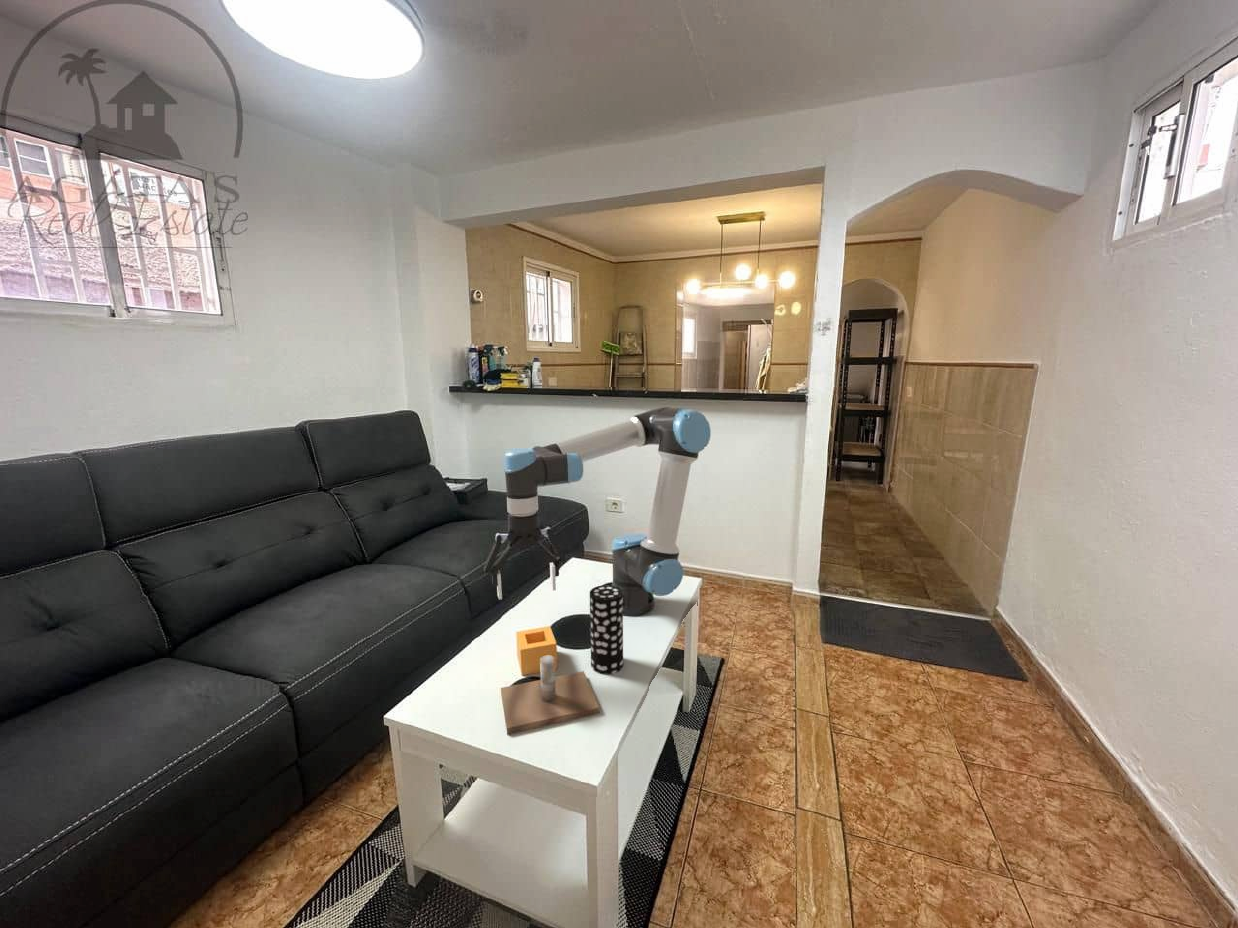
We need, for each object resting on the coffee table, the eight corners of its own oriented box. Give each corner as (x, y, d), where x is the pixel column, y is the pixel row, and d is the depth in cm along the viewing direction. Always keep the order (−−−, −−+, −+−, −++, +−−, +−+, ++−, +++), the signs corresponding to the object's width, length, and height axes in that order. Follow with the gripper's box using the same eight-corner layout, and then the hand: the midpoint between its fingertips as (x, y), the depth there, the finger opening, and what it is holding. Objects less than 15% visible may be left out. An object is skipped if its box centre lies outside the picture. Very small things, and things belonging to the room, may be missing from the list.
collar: (550, 649, 133) (549, 626, 132) (557, 668, 124) (556, 643, 123) (517, 655, 130) (516, 631, 129) (521, 675, 122) (520, 649, 120)
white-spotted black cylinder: (599, 677, 120) (598, 602, 117) (585, 660, 128) (584, 589, 124) (628, 668, 124) (628, 595, 121) (614, 652, 131) (613, 582, 128)
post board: (583, 676, 121) (582, 635, 119) (599, 713, 108) (598, 668, 106) (501, 693, 115) (498, 650, 113) (507, 734, 102) (504, 687, 100)
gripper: (568, 503, 128) (570, 579, 132) (469, 513, 119) (475, 594, 123) (576, 510, 121) (578, 590, 125) (471, 522, 112) (477, 607, 116)
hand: (527, 592), depth 124 cm, fingers open, 13 cm apart
